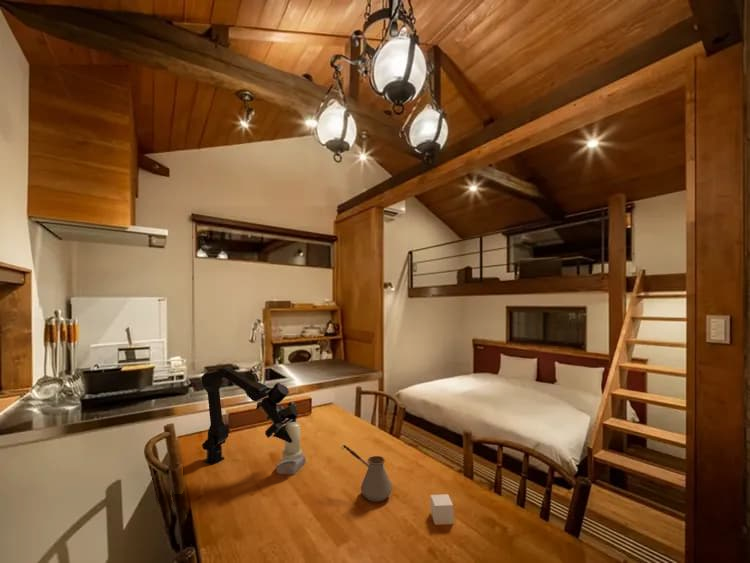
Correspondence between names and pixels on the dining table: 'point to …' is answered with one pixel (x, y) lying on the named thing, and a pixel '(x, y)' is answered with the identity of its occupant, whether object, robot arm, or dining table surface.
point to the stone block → (290, 465)
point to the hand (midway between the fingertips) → (295, 439)
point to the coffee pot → (374, 478)
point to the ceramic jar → (292, 448)
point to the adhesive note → (441, 509)
